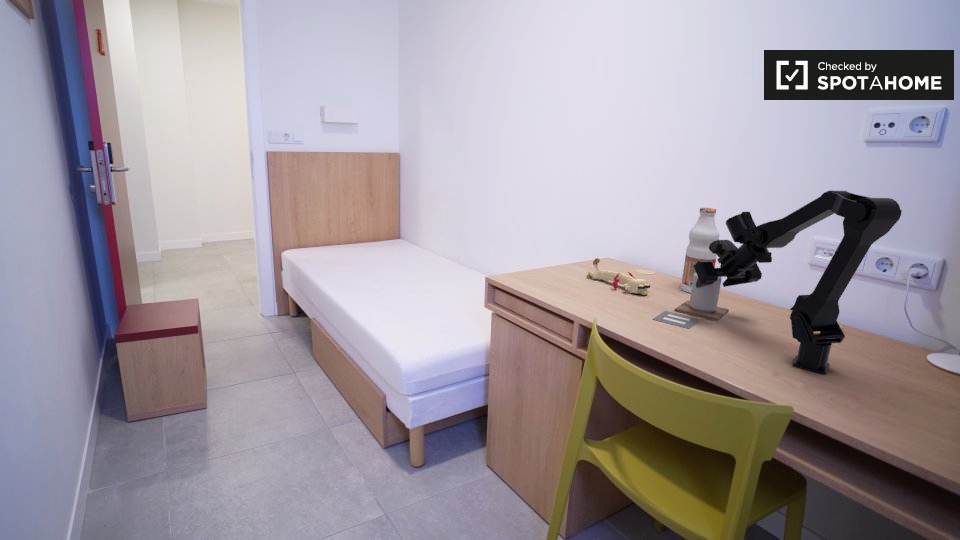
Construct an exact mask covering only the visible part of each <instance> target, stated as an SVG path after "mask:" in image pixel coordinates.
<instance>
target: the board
mask: <svg viewBox="0 0 960 540" xmlns="http://www.w3.org/2000/svg"><path fill="white" fill-rule="evenodd" d="M689 303H690V299H689V300H686V301H684V302H683V303H681V304H680V305H679V306H677V307H675V308H674V310H673V311H674V312H675V313H679V314H684V315H685V314H686V315H689V316H692V317H696V318H697V317H698V318H700V319H701V318H702V319H706V320H710V321H714V322H719V321H720V320H721V319H722V318H723V317H724V316H725V315H726V314H728V312H729V309H728V308H724V307H719V306H717V309H716V310H714V311H713V312H710V313H705V312H699V311H696V310H693V309H692V307H691V306H690V305H689Z"/></svg>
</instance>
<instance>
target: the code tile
mask: <svg viewBox="0 0 960 540" xmlns="http://www.w3.org/2000/svg"><path fill="white" fill-rule="evenodd" d="M652 320H654V321H657V322H661V323H665V324H669V325H672V326H673V325H674V326H677V327H680V328H685V329H691V328H692V327H693V326H694V325H695V324H697V323H699V321H700V320H701V318H699V317H698V318H697V317H694V316H690V315H689V316H688V315H685V314H682V313H678V312H672V311H668V310H664V311H662V312H661V313H659V314H658V315H657V316H655V317H653V318H652Z"/></svg>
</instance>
